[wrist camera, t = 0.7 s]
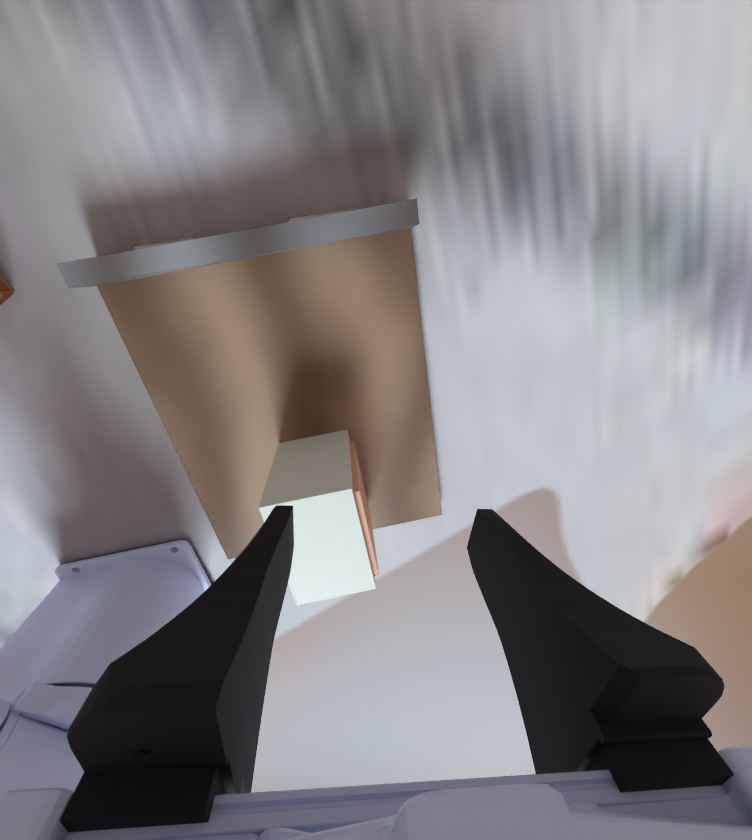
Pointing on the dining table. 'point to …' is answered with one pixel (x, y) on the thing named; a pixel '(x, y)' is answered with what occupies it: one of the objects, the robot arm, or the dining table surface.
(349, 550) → the sage box
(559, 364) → the dining table surface
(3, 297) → the carton
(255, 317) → the shelf board
